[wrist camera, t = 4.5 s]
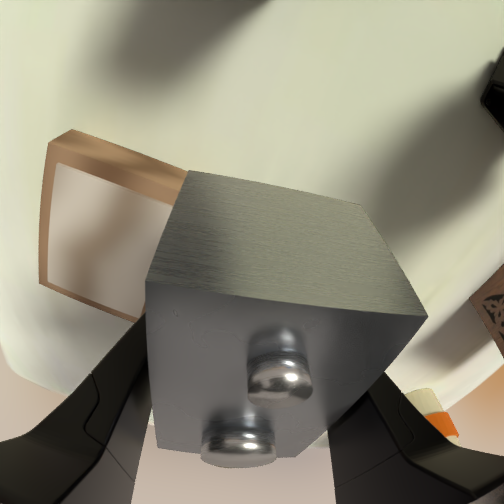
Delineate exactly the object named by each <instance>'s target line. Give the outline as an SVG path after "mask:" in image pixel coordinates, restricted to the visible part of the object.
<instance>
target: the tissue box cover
mask: <svg viewBox="0 0 504 504" xmlns="http://www.w3.org/2000/svg"><path fill="white" fill-rule="evenodd" d="M469 299H470V301H471V303H472V304H473V306H474V307H475V309H476V310H477V312H478V314H479V315H480V317H481V319H482V320H483V322H484V324H485V325H486V327H487V329H488V331H489V332H490V334H491V336H492V338H493V339H494V341H495V343H496V345H497V347H498V348H499V350H500V352H501V354H502V356H503V358H504V264H503V265H502V266H501V267H500V268H499V269H498V270H497V271H496V272H495V273H494V274H493V275H492V276H491V277H490V278H489V279H488V280H487V281H486V282H485V283H484V284H483V285H482V286H481V287H480V288H479V289H478V290H477V291H476V292H475V293H474V294H473V295H472V296H471V297H469Z"/></svg>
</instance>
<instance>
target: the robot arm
mask: <svg viewBox="0 0 504 504" xmlns="http://www.w3.org/2000/svg"><path fill="white" fill-rule="evenodd" d="M486 101H487V104H486ZM481 104H482V106H483V107H484V108H485V109H486V111H487V112H488V113H489V114H490V115H491V117H492V118H493V119H494V120H495V122H496V123H497V124H498V125H499V127H500V128H501V129H502V130H503V132H504V54H503V56H502V58H501V60H500V62H499V64H498V66H497V68H496V70H495V72H494V74H493V76H492V78H491V80H490V82H489V84H488V86H487V88H486V89H485V91H484V93H483V95H482V97H481ZM91 373H92V374H91ZM91 373H90V374H89V375H88V376H87V377H86V378H85V380H84V381H83V382H82V383H81V384H80V385H79V386H78V387H77V388H76V389H75V390H74V392H73V393H72V394H71V395H70V396H68V397H67V398H66V399H65V400H64V401H63V402H62V403H61V404H60V405H59V406H58V407H57V408H56V409H55V410H53V411H52V412H51V413H50V414H49V415H48V416H47V417H46V418H45V419H43V420H42V421H41V422H40V423H39V424H38V425H37V426H36V427H35V428H33V429H32V430H31V431H29V432H27V433H26V434H24V435H22V436H19V437H16V438H13V439H9V440H6V441H2V442H0V504H131V500H132V494H133V489H134V485H135V483H134V482H135V479H136V474H137V469H138V465H139V460H140V456H141V451H142V447H143V442H144V438H145V433H146V429H147V425H148V421H149V416H150V412H151V408H152V400H151V390H150V379H149V367H148V353H147V336H146V311H145V312H144V314H143V315H142V316H141V317H140V318H139V319H138V320H137V321H136V322H135V323H134V324H133V326H132V327H131V328H130V329H129V330H128V331H127V332H126V333H125V334H124V336H123V337H122V338H121V339H120V340H119V341H118V342H117V343H116V344H115V346H114V347H113V348H112V349H111V350H110V351H109V352H108V353H107V355H106V356H105V357H104V358H103V359H102V360H101V361H100V362H99V364H98V365H97V366H96V367H95V368H94V369H93V370H92V372H91ZM327 431H328V439H329V446H330V453H331V462H332V469H333V478H334V487H335V497H336V504H504V456H499V455H494V454H489V453H484V452H479V451H475V450H471V449H467V448H462V447H460V446H457V445H455V444H453V443H452V442H451V441H449V440H448V439H447V438H446V437H445V436H444V435H443V434H442V433H441V432H440V431H439V430H438V429H437V428H436V427H435V426H433V425H432V424H431V423H430V422H429V421H428V420H427V419H426V418H425V417H424V416H423V415H422V414H421V413H420V412H419V411H418V410H417V409H416V407H415V406H414V405H413V404H412V403H411V402H410V401H409V400H408V398H407V397H406V396H405V395H404V394H403V393H401V390H400V389H399V388H398V387H397V386H396V385H395V383H394V382H393V381H392V380H391V379H390V378H389V376H388V375H387V374H386V373H385V372H383V373H382V374H381V376H380V377H379V378H378V379H377V380H376V381H375V382H374V383H373V384H372V385H371V387H370V388H369V389H368V390H367V391H366V392H365V393H364V394H363V395H362V396H361V397H360V398H359V399H358V400H357V401H356V402H355V403H354V404H353V405H352V406H351V407H350V408H349V409H348V410H347V411H346V412H345V413H344V414H343V415H342V416H341V417H340V418H339V419H338V420H337V421H336V422H335V423H334V424H333V425H331V426H330V427H329V428H328V429H327Z"/></svg>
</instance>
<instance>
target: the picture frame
mask: <svg viewBox="0 0 504 504" xmlns="http://www.w3.org/2000/svg"><path fill="white" fill-rule="evenodd" d="M187 173H188V172H187V171H185V170H182V169H180V168H177V167H175V166H172V165H170V164H167V163H164V162H162V161H159V160H157V159H154V158H151V157H149V156H146V155H143V154H141V153H138V152H135V151H133V150H130V149H127V148H124V147H122V146H119V145H116V144H113V143H110V142H108V141H105V140H102V139H99V138H96V137H93V136H90V135H88V134H85V133H82V132H79V131H76V130H73V129H71V130H69V131H68V132H66V133H64V134H62V135H61V136H59V137H57V138H55V139H54V140H52V141H50V142H49V143H48V148H47V154H46V160H45V167H44V175H43V184H42V194H41V205H40V221H39V284H42V285H44V286H46V287H48V288H50V289H53V290H55V291H57V292H59V293H62V294H64V295H66V296H68V297H71V298H73V299H75V300H78V301H80V302H83V303H85V304H87V305H90V306H92V307H95V308H97V309H100V310H102V311H105V312H108V313H110V314H113V315H115V316H118V317H121V318H123V319H126V320H129V321H132V322H134V323H135V322H136V321H137V320H138V319H139V318H140V317H141V316H142V315H143V314H144V312H145V279H146V276H147V274H148V271H149V268H150V265H151V262H152V260H153V257H154V254H155V252H156V249H157V246H158V244H159V241H160V238H161V236H162V233H163V231H164V228H165V226H166V223H167V221H168V218H169V216H170V213H171V211H172V208H173V206H174V203H175V201H176V199H177V196H178V194H179V191H180V189H181V187H182V184H183V182H184V180H185V177H186V175H187Z"/></svg>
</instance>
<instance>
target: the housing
mask: <svg viewBox="0 0 504 504" xmlns="http://www.w3.org/2000/svg"><path fill="white" fill-rule="evenodd" d="M145 311H146V336H147V353H148V367H149V379H150V390H151V400H152V409H153V417H154V425H155V432H156V439H157V446H158V448H162V449H168V450H176V451H182V452H189V453H198V454H201V459H202V460H203V461H204V462H206V463H208V464H211V465H215V466H220V467H228V468H249V467H258V466H263V465H266V464H269V463H272V462H274V461H275V460H276V458H277V457H278V458H281V457H282V458H283V457H296V456H297V455H298V454H300V453H301V452H302V451H303V450H304V449H306V448H307V447H308V446H309V445H310V444H311V443H313V442H314V441H315V440H316V439H317V438H318V437H319V436H321V435H322V434H323V433H324V432H325V431H326V430H327V429H328V428H329V427H330V426H331V425H333V424H334V423H335V422H336V421H337V420H338V419H339V418H340V417H341V416H342V415H343V414H344V413H345V412H346V411H347V410H348V409H349V408H350V407H351V406H352V405H353V404H354V403H355V402H356V401H357V400H358V399H359V398H360V397H361V396H362V395H363V394H364V393H365V392H366V391H367V390H368V389H369V388H370V387H371V385H372V384H373V383H374V382H375V381H376V380H377V379H378V378H379V377H380V376H381V374H382V373H383V372H384V371H385V370H386V369H387V368H388V366H389V365H390V364H391V363H392V362H393V361H394V359H395V358H396V357H397V356H398V355H399V354H400V352H401V351H402V350H403V349H404V347H405V346H406V345H407V344H408V342H409V341H410V340H411V339H412V337H413V336H414V335H415V334H416V332H417V331H418V330H419V328H420V327H421V326H422V324H423V323H424V322H425V320H426V319H427V318H428V315H427V313H426V311H425V309H424V307H423V305H422V304H421V302H420V300H419V298H418V296H417V295H416V293H415V291H414V289H413V288H412V286H411V284H410V282H409V281H408V279H407V277H406V276H405V274H404V272H403V271H402V269H401V267H400V266H399V264H398V262H397V261H396V259H395V257H394V256H393V254H392V253H391V251H390V249H389V248H388V246H387V245H386V243H385V242H384V240H383V238H382V237H381V235H380V234H379V232H378V231H377V229H376V228H375V226H374V225H373V223H372V222H371V220H370V219H369V217H368V216H367V214H366V213H365V211H364V210H363V208H362V207H361V206H360V205H358V204H354V203H350V202H346V201H342V200H338V199H334V198H329V197H325V196H321V195H316V194H312V193H307V192H303V191H298V190H294V189H289V188H284V187H280V186H275V185H270V184H265V183H260V182H254V181H249V180H244V179H238V178H233V177H227V176H222V175H216V174H210V173H204V172H198V171H191V170H189V171H188V173H187V175H186V177H185V180H184V182H183V184H182V187H181V189H180V191H179V194H178V196H177V199H176V201H175V203H174V206H173V208H172V211H171V213H170V216H169V218H168V221H167V223H166V226H165V228H164V231H163V233H162V236H161V238H160V241H159V244H158V246H157V249H156V252H155V254H154V257H153V260H152V262H151V265H150V268H149V271H148V274H147V276H146V279H145Z"/></svg>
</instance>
